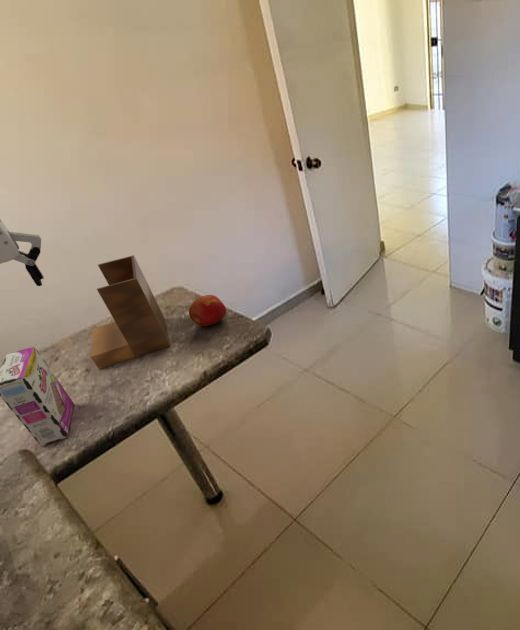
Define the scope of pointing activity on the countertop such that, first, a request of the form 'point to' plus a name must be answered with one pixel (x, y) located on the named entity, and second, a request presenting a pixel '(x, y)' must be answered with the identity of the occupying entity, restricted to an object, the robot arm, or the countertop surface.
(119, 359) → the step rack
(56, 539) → the countertop surface
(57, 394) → the candy bar box
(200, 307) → the apple
